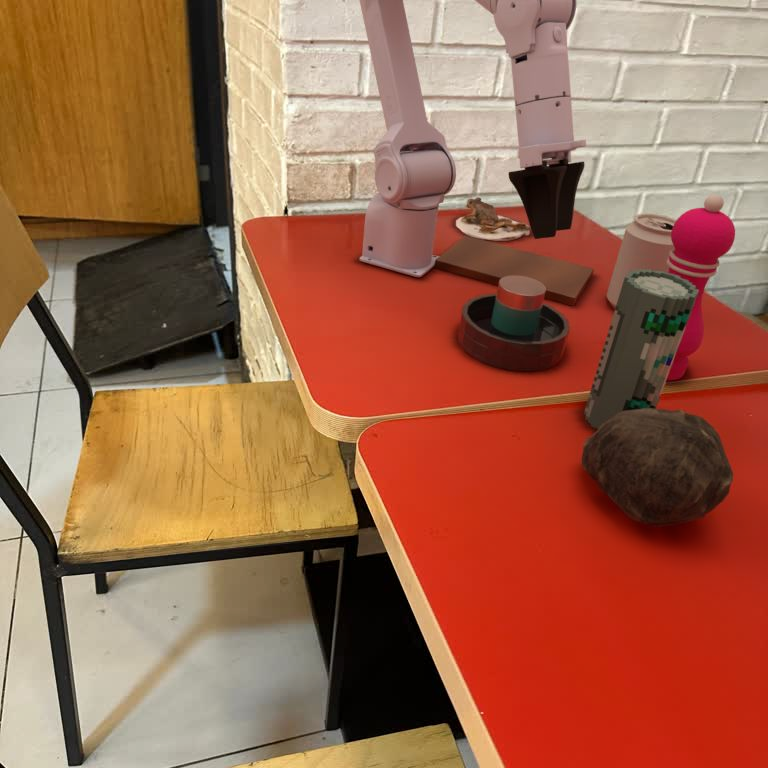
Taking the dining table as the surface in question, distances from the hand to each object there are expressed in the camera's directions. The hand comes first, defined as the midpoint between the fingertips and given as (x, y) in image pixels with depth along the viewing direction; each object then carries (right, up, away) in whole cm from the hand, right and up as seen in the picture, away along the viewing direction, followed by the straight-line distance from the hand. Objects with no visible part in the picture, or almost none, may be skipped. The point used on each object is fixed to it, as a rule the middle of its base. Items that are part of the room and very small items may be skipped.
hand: (553, 233), depth 76 cm
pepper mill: (+13, -15, +4) cm, 20 cm away
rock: (+3, -27, -16) cm, 31 cm away
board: (0, 0, +23) cm, 23 cm away
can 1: (+15, -6, +17) cm, 23 cm away
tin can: (-4, -11, +5) cm, 13 cm away
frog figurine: (-1, +9, +38) cm, 39 cm away
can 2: (+5, -20, -7) cm, 22 cm away
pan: (-4, -12, +5) cm, 13 cm away
